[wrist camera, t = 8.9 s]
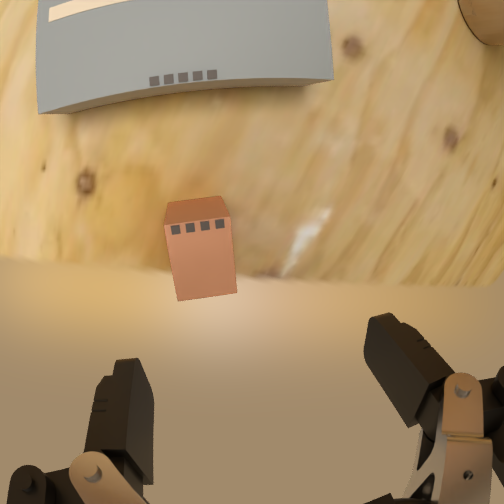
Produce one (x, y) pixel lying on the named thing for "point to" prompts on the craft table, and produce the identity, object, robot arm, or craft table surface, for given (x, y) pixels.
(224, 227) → the stub
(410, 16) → the craft table surface
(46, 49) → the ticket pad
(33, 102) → the craft table surface
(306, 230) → the craft table surface
